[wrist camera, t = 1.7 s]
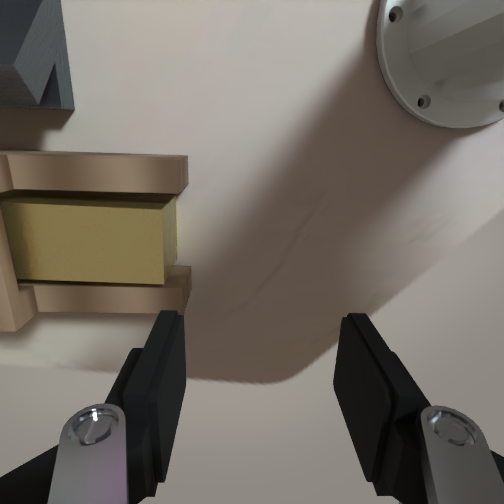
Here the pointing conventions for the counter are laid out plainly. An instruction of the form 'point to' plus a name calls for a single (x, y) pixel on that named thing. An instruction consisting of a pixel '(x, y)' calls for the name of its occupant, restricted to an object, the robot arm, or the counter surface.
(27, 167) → the wooden bracket
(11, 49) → the v block
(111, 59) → the counter surface
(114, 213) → the bar
